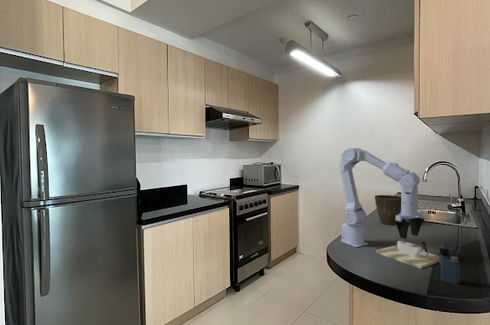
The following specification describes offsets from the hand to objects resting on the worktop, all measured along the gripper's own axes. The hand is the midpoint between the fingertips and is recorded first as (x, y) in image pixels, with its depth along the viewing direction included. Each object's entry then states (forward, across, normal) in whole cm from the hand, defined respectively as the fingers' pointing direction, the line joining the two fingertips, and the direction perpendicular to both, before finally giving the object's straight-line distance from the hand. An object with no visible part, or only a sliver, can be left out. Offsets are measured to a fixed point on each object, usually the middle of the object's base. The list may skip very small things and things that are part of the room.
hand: (409, 236), depth 108 cm
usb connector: (+7, 0, -1) cm, 7 cm away
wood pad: (+8, 0, 0) cm, 8 cm away
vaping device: (+8, -10, -19) cm, 23 cm away
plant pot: (+8, +41, +37) cm, 56 cm away
